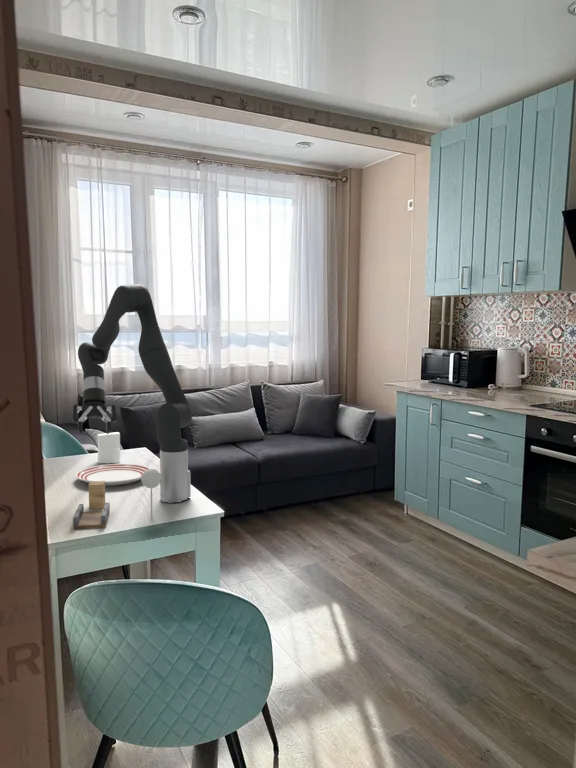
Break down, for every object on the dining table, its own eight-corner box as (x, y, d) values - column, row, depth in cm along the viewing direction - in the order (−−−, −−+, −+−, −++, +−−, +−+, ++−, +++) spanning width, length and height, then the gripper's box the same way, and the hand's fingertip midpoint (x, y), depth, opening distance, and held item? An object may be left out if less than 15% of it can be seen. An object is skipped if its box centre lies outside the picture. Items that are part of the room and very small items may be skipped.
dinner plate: (74, 473, 218) (73, 465, 217) (145, 467, 228) (145, 459, 228) (77, 493, 193) (77, 484, 192) (157, 486, 203) (157, 477, 203)
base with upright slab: (116, 457, 242) (115, 430, 241) (123, 462, 235) (122, 434, 234) (95, 460, 237) (94, 433, 236) (102, 465, 230) (101, 436, 229)
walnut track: (79, 515, 172) (79, 504, 171) (109, 513, 173) (109, 502, 173) (73, 529, 160) (73, 517, 160) (105, 527, 162) (105, 515, 161)
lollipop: (141, 520, 168) (140, 472, 166) (141, 514, 173) (140, 467, 172) (162, 519, 170) (162, 471, 168) (161, 512, 175) (161, 466, 173)
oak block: (90, 505, 181) (90, 481, 180) (105, 504, 182) (104, 480, 181) (89, 509, 177) (88, 484, 176) (103, 508, 178) (103, 484, 177)
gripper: (73, 386, 191) (73, 428, 183) (116, 387, 197) (117, 428, 189) (71, 397, 197) (71, 438, 189) (113, 397, 203) (115, 437, 195)
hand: (94, 433), depth 189 cm, fingers open, 8 cm apart
